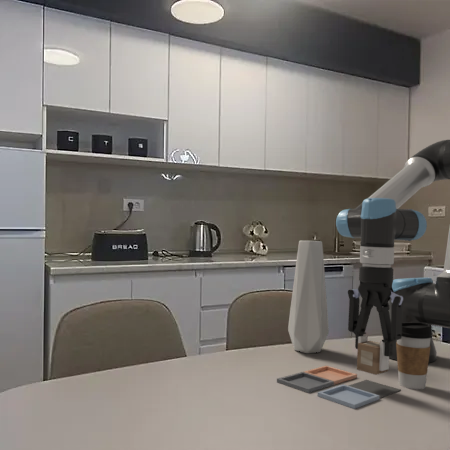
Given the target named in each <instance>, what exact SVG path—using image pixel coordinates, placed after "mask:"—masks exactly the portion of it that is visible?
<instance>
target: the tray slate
mask: <svg viewBox="0 0 450 450" xmlns="http://www.w3.org/2000/svg"><path fill="white" fill-rule="evenodd" d="M316 394H317V395H316V396H317V397H319V398H322V399H324V400H327V401H330V402H333V403H335V404H339V405H341V406H345V407H347V408H350V409H353V410H355V409H358V408H361V407H363V406H365V405H367V404H372V403H374V402H376V401H379V400H380V399H379V395H376V394H373V393H370V392H367V391H363V390H360V389H357V388H354V387H350V386H349V385H346V384H344V383H343V384H342V383H341V384H340V385H336V386H334V387H333V386H332V387H330V388H327V389H324V390H323V389H322V390H320V391H317V393H316Z"/></svg>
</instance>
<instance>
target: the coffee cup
mask: <svg viewBox="0 0 450 450" xmlns="http://www.w3.org/2000/svg"><path fill="white" fill-rule="evenodd" d="M432 326H433V325H431V324H428V323H421V322H405V323H402V337H401V339H399V340H397V342H396V349H397V360H396V363H397V374H398V385H399V386H401V387H403V388H404V389H405V388H406V389H410V390H411V389H412V390H423V389H424V390H425V389H426V383H427V377H428V375H427V374H428V370H429V369H428V368H429V363H430V362H429V355H430V347H431V346H430V339H431V338H433V334H434V333H433V327H432Z"/></svg>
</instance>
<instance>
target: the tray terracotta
mask: <svg viewBox="0 0 450 450" xmlns="http://www.w3.org/2000/svg"><path fill="white" fill-rule="evenodd" d="M303 372H305V373H308V374H311V375H315V376H318V377H321V378H324V379H328V380H331V381H334V385H333V386H335V385H338V384H342V383H344V382H347V381H350V380H351V381H352V380H354V379H357V378H358V374H357V373H353V372H351V371H347V370H343V369H341V368H336V367H333V366H329V365H323V366H319V367H316V368H312V369H308V370H304V371H303Z"/></svg>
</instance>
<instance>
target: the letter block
mask: <svg viewBox="0 0 450 450" xmlns="http://www.w3.org/2000/svg"><path fill="white" fill-rule="evenodd" d="M356 355H357V356H356V360H357V361H356V370H358V371H361V372H365V373H369V374H371V375H380V374H383V373H386V372H389V369H388V370H384V371H380V370H379V363H380V342H378V341H377V342H376V341H373V340H367V342H362V343H358V349H357V354H356Z"/></svg>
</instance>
